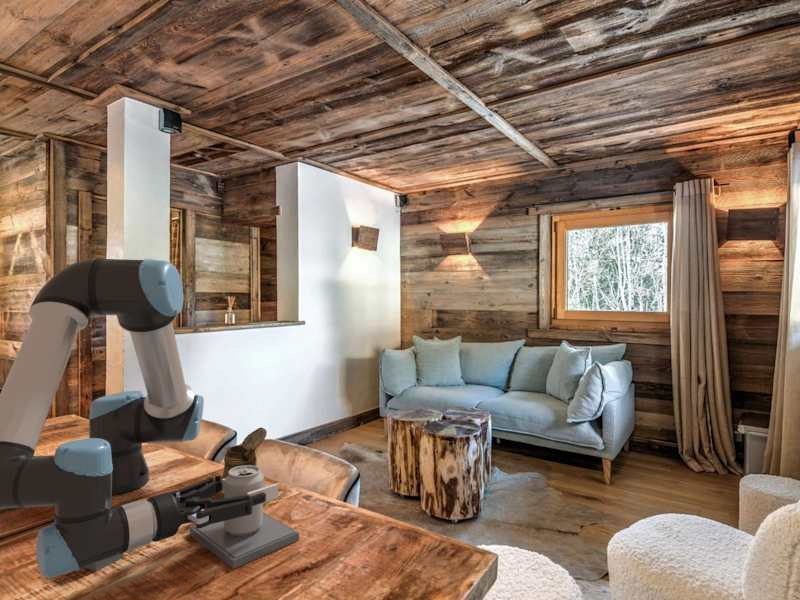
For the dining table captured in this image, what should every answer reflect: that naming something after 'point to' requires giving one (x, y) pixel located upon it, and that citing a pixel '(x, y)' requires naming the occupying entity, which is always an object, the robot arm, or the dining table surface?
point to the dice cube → (104, 563)
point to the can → (240, 485)
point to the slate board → (245, 541)
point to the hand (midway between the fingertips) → (263, 483)
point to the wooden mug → (243, 453)
